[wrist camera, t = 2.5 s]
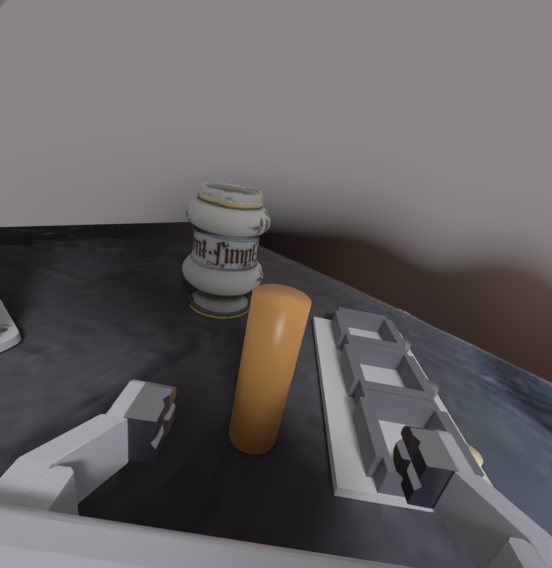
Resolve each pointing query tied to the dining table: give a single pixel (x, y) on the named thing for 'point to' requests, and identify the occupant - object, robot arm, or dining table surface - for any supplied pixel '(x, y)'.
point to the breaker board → (374, 404)
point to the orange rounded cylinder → (267, 365)
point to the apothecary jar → (224, 248)
